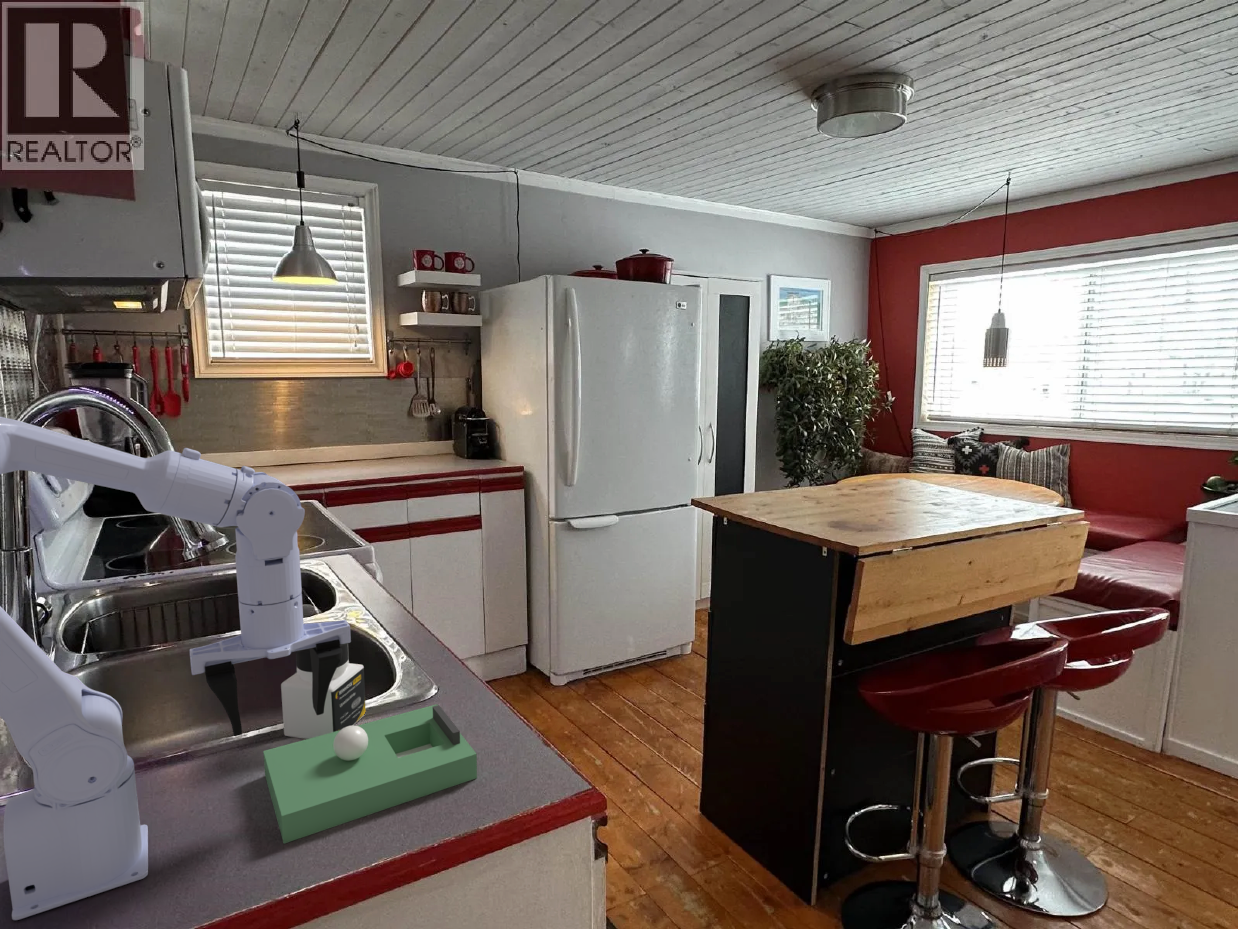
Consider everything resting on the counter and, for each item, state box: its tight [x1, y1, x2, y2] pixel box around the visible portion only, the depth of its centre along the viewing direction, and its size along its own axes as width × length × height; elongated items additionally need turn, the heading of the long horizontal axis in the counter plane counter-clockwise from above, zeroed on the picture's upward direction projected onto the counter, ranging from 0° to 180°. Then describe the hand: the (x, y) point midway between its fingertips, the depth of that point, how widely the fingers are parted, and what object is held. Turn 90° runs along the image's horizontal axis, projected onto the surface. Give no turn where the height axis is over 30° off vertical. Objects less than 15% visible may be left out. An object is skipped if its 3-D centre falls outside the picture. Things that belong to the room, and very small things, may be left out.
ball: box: [333, 725, 368, 761], centre depth 77 cm, size 4×4×4 cm
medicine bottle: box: [280, 643, 367, 740], centre depth 89 cm, size 7×7×12 cm
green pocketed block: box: [262, 704, 478, 844], centre depth 79 cm, size 20×13×4 cm, turn 124°
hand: (278, 720), depth 73 cm, fingers open, 7 cm apart
